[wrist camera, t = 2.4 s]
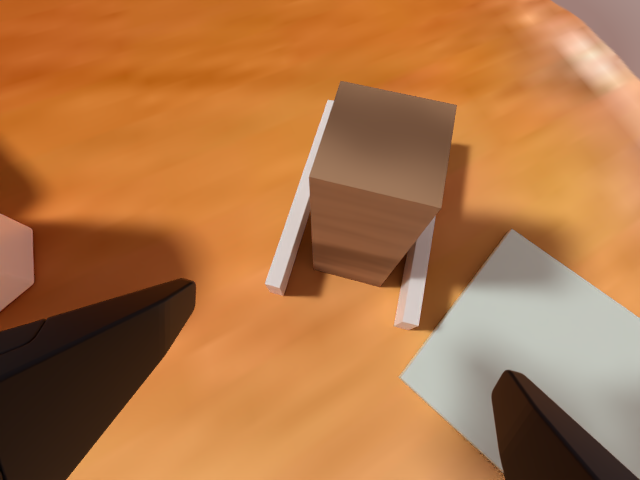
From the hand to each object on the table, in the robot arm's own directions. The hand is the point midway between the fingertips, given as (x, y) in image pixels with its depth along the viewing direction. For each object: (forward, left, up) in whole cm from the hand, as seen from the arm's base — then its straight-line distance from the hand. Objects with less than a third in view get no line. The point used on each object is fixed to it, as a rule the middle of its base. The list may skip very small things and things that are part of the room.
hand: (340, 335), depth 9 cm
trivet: (+9, -11, -13) cm, 20 cm away
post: (+7, +4, -13) cm, 15 cm away
